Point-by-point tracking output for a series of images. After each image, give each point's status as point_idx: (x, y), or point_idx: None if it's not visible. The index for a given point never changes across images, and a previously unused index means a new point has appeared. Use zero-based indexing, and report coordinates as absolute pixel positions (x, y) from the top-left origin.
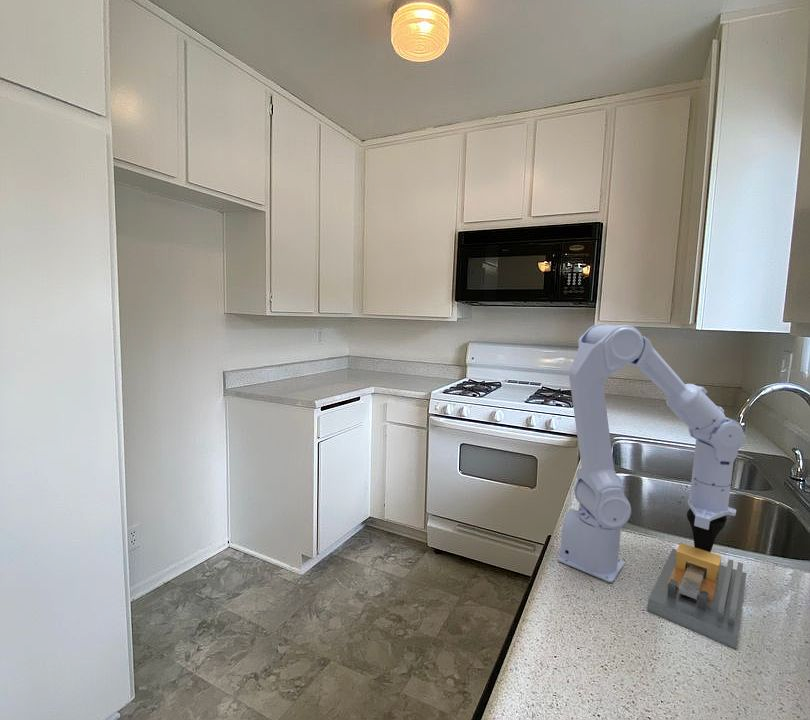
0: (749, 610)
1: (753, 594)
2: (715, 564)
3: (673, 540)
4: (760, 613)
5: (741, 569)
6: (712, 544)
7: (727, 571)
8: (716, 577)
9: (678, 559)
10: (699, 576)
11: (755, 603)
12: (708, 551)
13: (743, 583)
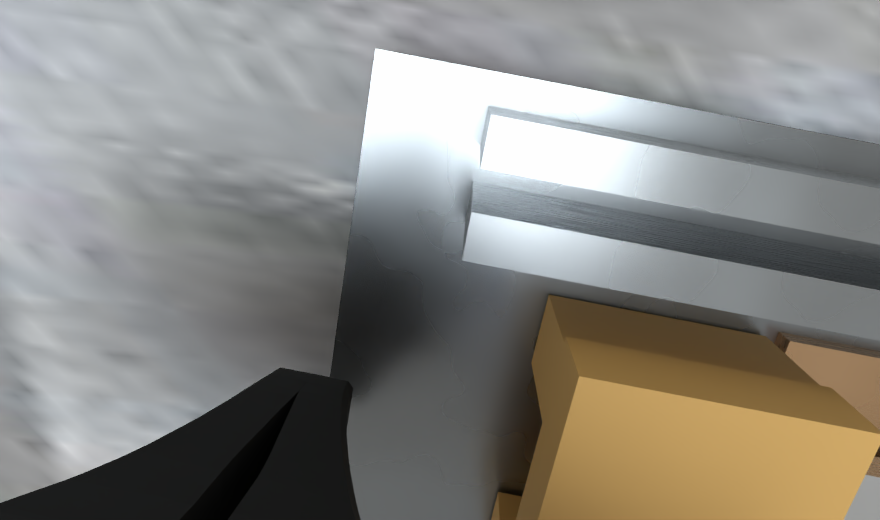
0: (819, 80)
1: (534, 9)
2: (866, 464)
3: (14, 474)
4: (828, 2)
5: (673, 158)
6: (347, 451)
7: (809, 313)
8: (793, 365)
9: None
10: (865, 497)
11: (681, 16)
12: (347, 409)
13: (615, 106)
